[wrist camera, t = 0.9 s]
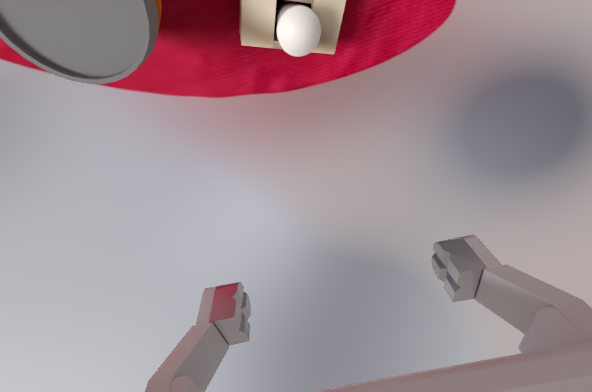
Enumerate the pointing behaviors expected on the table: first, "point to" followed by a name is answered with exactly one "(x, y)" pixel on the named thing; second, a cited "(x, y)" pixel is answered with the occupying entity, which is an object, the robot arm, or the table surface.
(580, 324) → the robot arm
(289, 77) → the table surface
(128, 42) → the reusable coffee cup
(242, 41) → the wooden peg holder
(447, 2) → the table surface
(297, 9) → the plunger
